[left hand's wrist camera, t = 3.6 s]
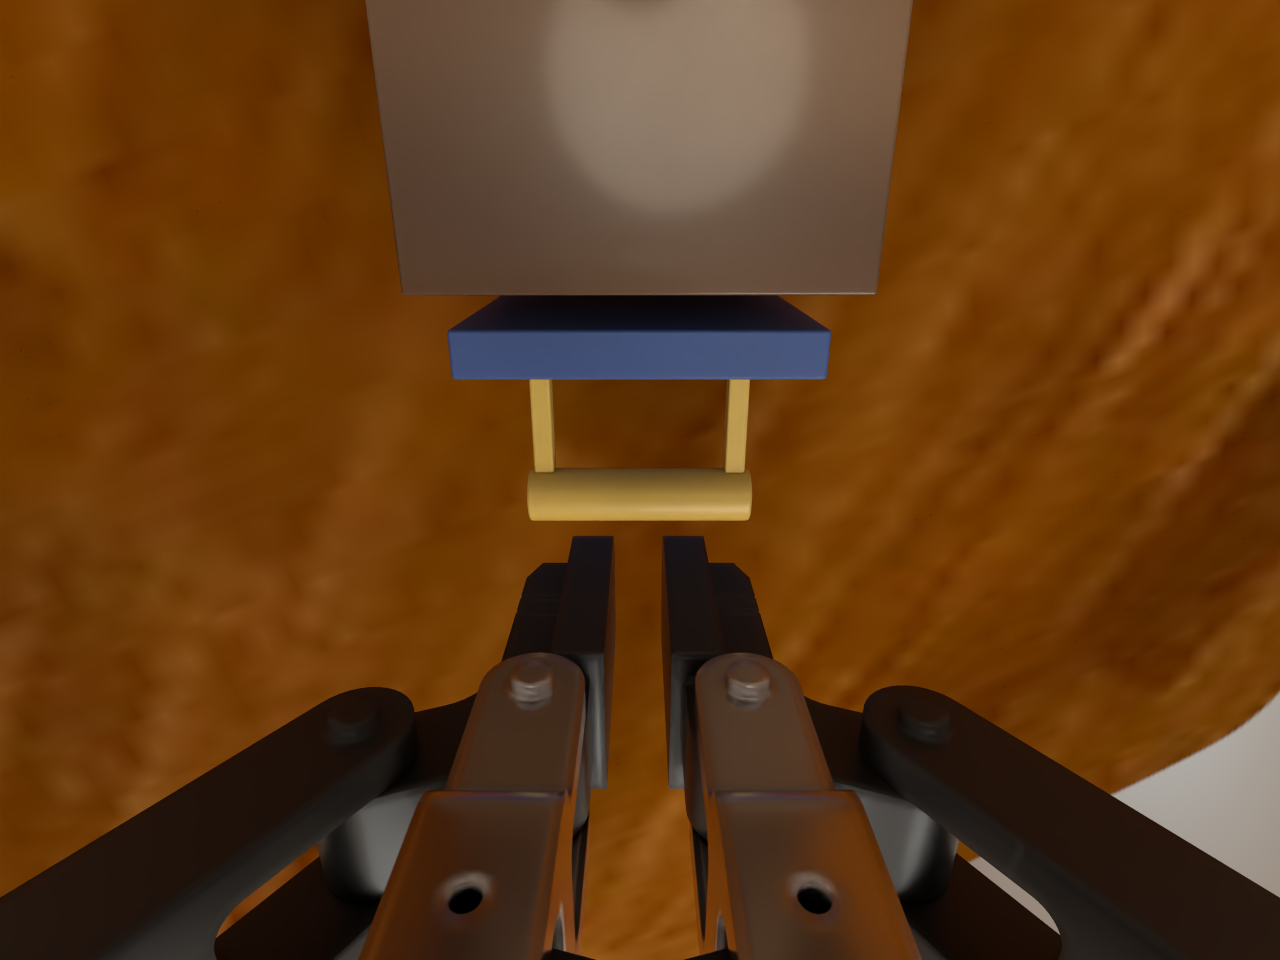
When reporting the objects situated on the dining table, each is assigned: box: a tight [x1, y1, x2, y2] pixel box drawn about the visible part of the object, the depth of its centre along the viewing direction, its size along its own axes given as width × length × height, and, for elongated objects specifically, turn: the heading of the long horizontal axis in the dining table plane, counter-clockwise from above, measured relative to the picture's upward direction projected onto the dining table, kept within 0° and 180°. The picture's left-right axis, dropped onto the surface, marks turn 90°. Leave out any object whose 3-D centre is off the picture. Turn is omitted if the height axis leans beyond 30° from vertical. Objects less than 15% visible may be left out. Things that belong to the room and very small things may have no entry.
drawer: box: [448, 295, 831, 520], centre depth 18 cm, size 23×9×8 cm, turn 0°
